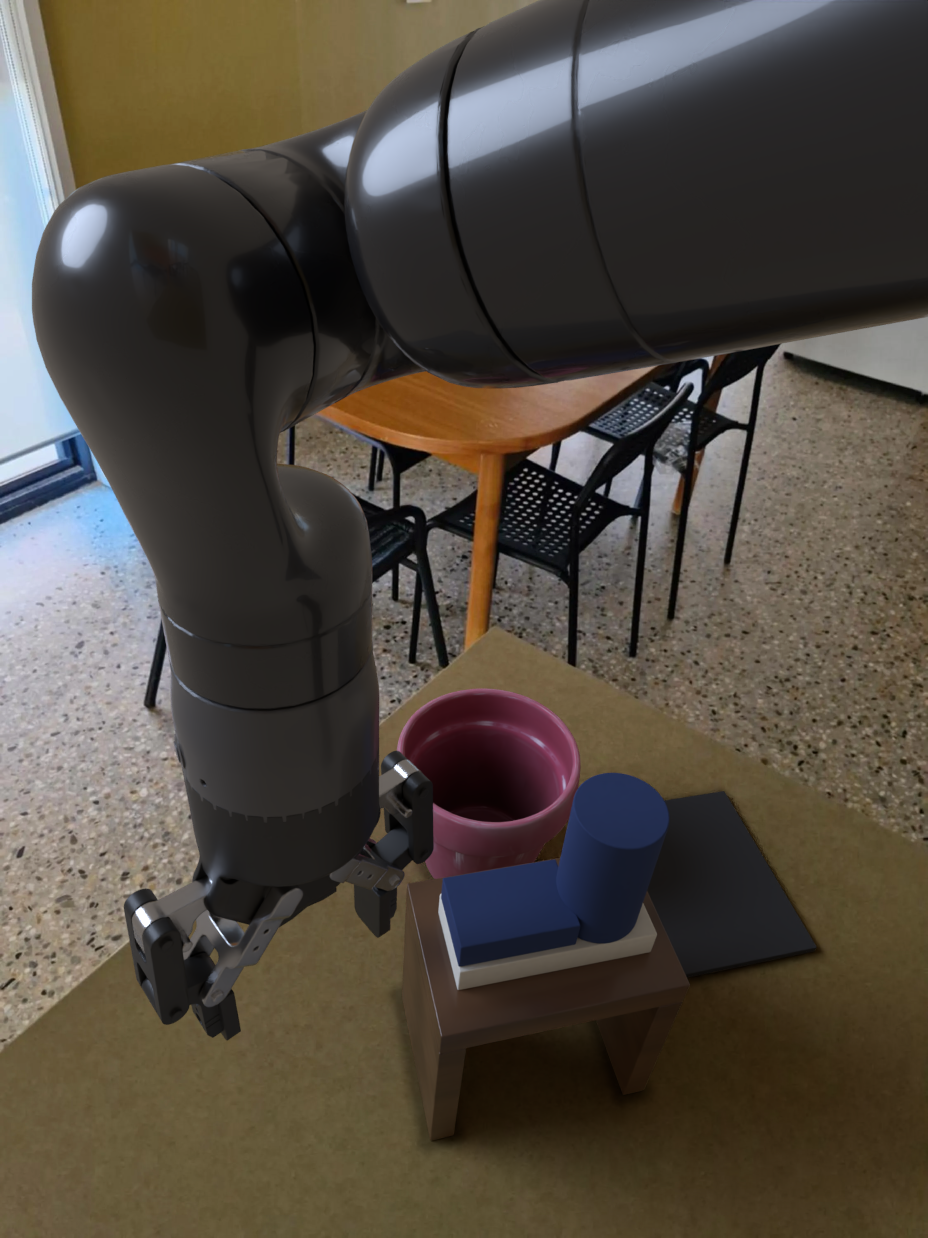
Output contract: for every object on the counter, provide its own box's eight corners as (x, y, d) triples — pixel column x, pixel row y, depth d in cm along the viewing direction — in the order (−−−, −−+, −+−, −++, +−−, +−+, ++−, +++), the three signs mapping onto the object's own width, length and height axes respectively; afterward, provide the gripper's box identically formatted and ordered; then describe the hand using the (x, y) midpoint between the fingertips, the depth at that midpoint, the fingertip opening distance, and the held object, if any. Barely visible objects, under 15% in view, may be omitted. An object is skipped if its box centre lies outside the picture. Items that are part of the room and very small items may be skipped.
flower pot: (377, 803, 78) (378, 699, 70) (526, 776, 82) (543, 674, 74) (416, 947, 68) (422, 844, 60) (585, 909, 71) (612, 806, 63)
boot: (619, 879, 57) (653, 765, 50) (651, 952, 53) (693, 839, 46) (437, 912, 55) (447, 795, 48) (457, 991, 51) (471, 877, 44)
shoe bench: (644, 1090, 61) (690, 985, 52) (429, 1141, 57) (440, 1037, 49) (593, 958, 68) (627, 846, 59) (401, 996, 65) (406, 883, 56)
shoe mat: (815, 951, 70) (817, 947, 69) (675, 980, 67) (677, 976, 67) (722, 795, 82) (724, 790, 81) (601, 814, 79) (602, 810, 79)
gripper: (146, 900, 28) (206, 1129, 38) (484, 712, 36) (461, 943, 45) (55, 760, 32) (130, 999, 42) (374, 620, 40) (374, 849, 50)
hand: (302, 969), depth 44 cm, fingers open, 8 cm apart
